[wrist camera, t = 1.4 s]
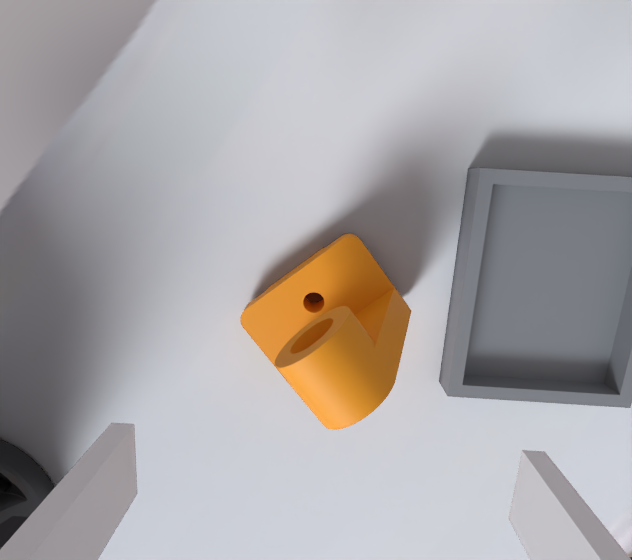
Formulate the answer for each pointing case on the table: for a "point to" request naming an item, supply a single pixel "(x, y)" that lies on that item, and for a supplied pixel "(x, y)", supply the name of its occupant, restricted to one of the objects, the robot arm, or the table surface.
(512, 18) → the table surface
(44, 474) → the robot arm
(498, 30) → the table surface
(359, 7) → the table surface
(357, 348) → the bracket
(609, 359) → the tray
